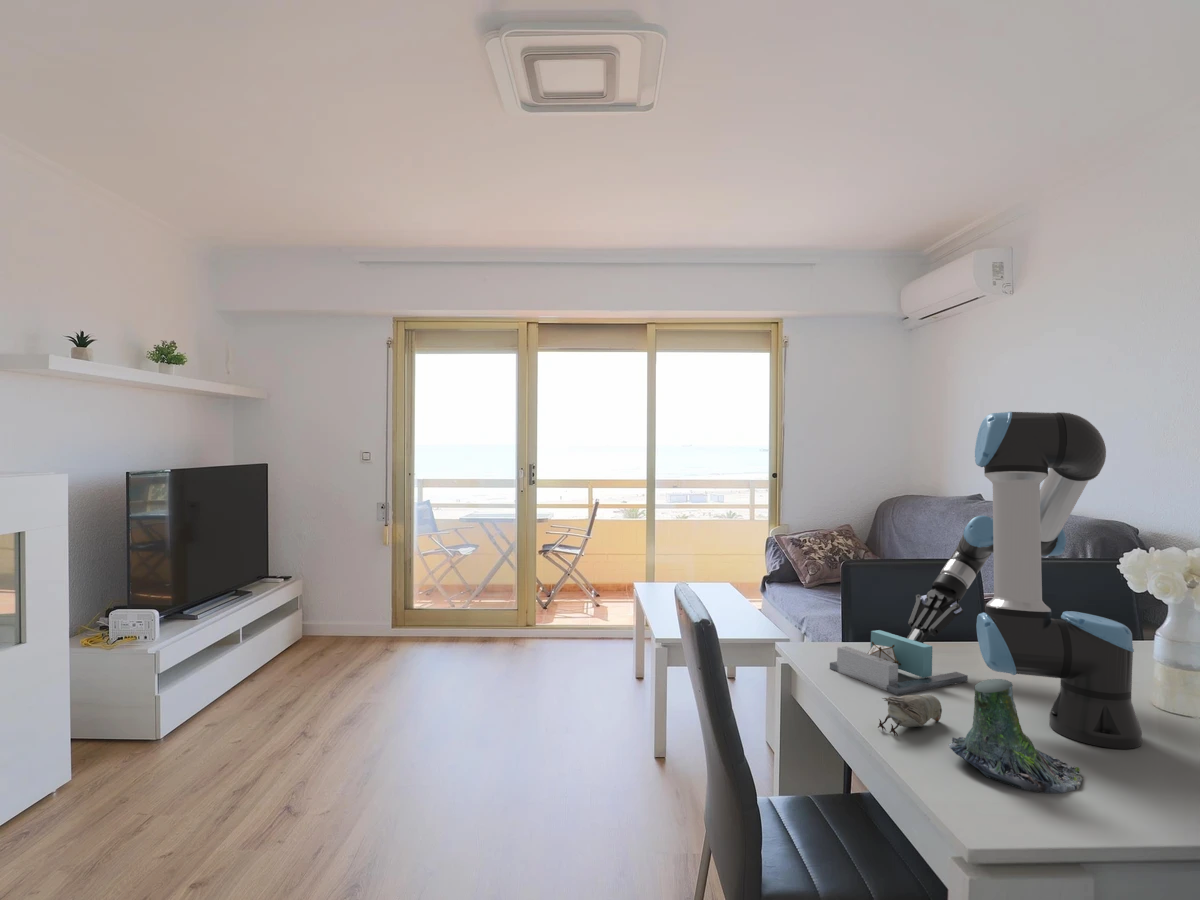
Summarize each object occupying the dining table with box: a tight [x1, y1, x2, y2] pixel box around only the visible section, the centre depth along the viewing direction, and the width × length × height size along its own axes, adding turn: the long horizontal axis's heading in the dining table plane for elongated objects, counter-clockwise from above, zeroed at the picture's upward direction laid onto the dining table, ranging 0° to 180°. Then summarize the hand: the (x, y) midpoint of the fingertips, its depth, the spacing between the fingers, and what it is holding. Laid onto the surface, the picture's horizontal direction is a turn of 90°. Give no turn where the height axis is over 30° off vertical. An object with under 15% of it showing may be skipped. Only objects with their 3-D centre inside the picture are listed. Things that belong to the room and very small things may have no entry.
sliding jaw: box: [870, 629, 933, 678], centre depth 176 cm, size 16×3×7 cm, turn 26°
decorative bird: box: [877, 693, 943, 737], centre depth 142 cm, size 5×16×8 cm, turn 118°
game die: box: [866, 642, 901, 665], centre depth 174 cm, size 9×8×10 cm
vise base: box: [829, 646, 968, 696], centre depth 176 cm, size 21×24×6 cm
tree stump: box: [948, 678, 1084, 794], centre depth 124 cm, size 18×20×18 cm
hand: (906, 652), depth 178 cm, fingers closed
